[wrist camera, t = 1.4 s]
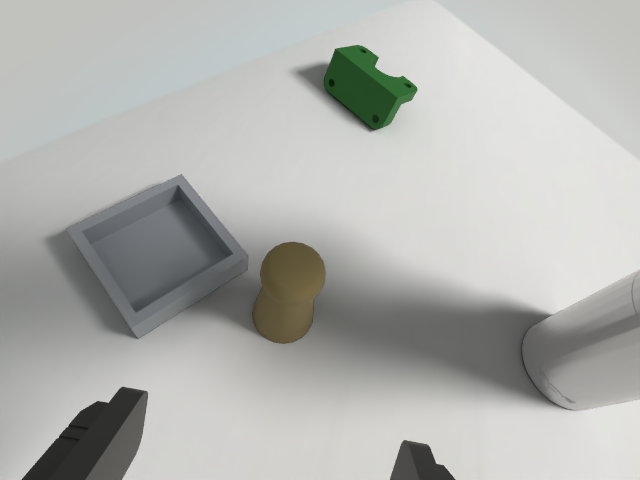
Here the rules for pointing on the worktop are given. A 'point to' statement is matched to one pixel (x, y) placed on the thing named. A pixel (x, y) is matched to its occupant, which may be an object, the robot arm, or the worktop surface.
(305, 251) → the cork
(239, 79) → the worktop surface
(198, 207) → the tray
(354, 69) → the clamp
